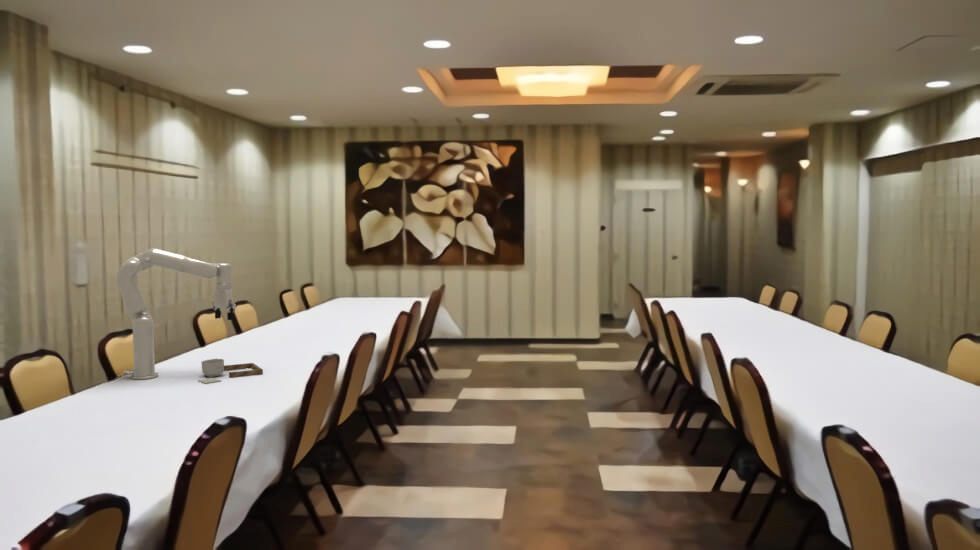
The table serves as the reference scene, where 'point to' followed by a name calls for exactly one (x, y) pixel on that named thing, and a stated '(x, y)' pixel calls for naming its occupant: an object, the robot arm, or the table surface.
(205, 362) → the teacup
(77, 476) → the table surface
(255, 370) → the bay
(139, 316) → the robot arm
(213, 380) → the coaster
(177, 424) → the table surface
